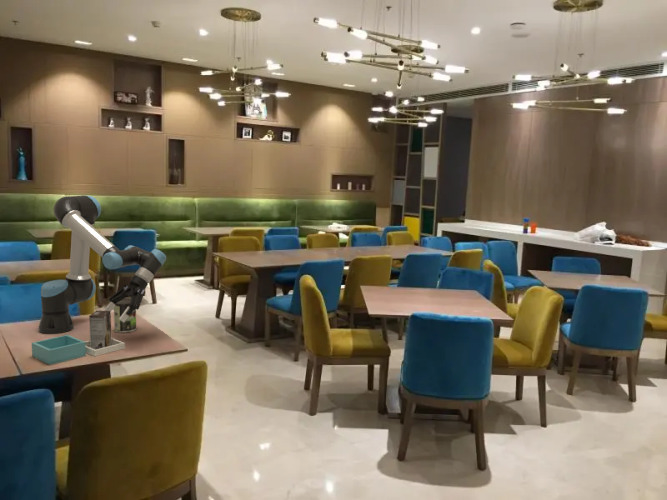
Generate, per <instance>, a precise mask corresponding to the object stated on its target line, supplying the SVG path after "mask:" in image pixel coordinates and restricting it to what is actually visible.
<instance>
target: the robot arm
mask: <svg viewBox="0 0 667 500" xmlns="http://www.w3.org/2000/svg"><path fill="white" fill-rule="evenodd" d="M101 213H102V208H101V203H100V202H99V201H98V199H97V198H95V197H94V196H92V195H85V194H83V195H82V194H81V195H71V196H70V195H68V196H66V195H65V196H63V197H61V198H58V199H57V200H56V202H55V203H54V205H53V214H54V217H55V218H56V220H57V222H58V223H60V225H62V226H63V227H64V228H69V230H70V231H71V237H70V238H71V239H70V241H71V243H70V255H69V256H70V261H69V272H68V273H67V274H66V275H65V279H55V280H50V281H47V282H44V283H43V284H42V285H41V287H40V298H41V318H40V321H39V325H38V332H39V333H41V334H45V335H46V334H52V335H53V334H62V333H67V332H69V331H72V330H73V329H74V328H75V327H74V326H75V325H74V321H73V319H72V317H71V314H70V308H69V307H70V306H71V305H75V304H79V303H84V302H86V301H89V300H90V299H91V298H93V297H94V296H95V294H96V290H97V287H96V286H97V285H96V283H95V281H94V280H93V279H92V276H91V274H90V273H89V269H90V267H89V265H90V251H91V250H90V248H91V249H92V250H93V251H94V252H95V253H96V254H98V256H100V257H101V258H102V264H103V266H104V267H105V268H106V269H108V270H116V269H121V268H124V267H129V266H135V265H137V266H139V268H138V270H136V272H135V273H134V275H133V276H132V277H131V278H130V280H129V285H126V284H123V285H122V287H121V288H120V289H119V290H116V292H115V293H114V294H112V295H111V296H109V298H108V300H109V302H108V305H107V306H106V307H105V309H104V310H103V311H110V313H111V312H112V311H113V310H114V307H115V305H116V303H118V302H119V301H121V300H124V299H126V298H130V299H131V301H130V305H129V307H127V309H126V310H125V312H124V313H123V314H122V316H121V317H120V318H119V319H120V320H121V321H122V322H125V321H126V319H127V318H128V317H129V316H130V314H131V313H132V312H133V310H135V309H136V311H138V310H139V309H140V307H141V303H142V302H143V301H142V300H143V297H144V295H145V293H146V291H145V289H146V288H147V286H148V285H149V283H151V281H152V280H153V278H154V277H155V275H156V274H157V273H158V272H159V270H160V269H161V267H163V265H164V264H165V262H166V261H167V256H166V254H165V253H164V252H162V251H161V250H160V249H158V248H157V249H156V248H154V249H152V250H151V251H147V250H146V249H145V250H144V249H143V248H140V247H138V246H134V245H130V244H129V245H128V246H126V247H125V248H124V249H122V250H120V249H119V248H118V247H117V246H116V245H114V243H112V242H110V240H108V238H106V237H105V236H104V235H103V234H102V233H100V231H98V229H96V228H95V227H94V226H95V223H96V219H97V218H99V216H100V215H101Z"/></svg>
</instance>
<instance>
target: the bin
mask: <svg viewBox="0 0 667 500" xmlns="http://www.w3.org/2000/svg"><path fill="white" fill-rule="evenodd" d="M85 342H86V341H84V340H81V339H79V338H77V337H75V336H72V335H70V334H65V335H60V336H55V337H51V338H46V339H42V340H38V341H33V342H31V354H32V356H33V357H32V358H34V357H35V359H36V358H37V360H38V359H39V361H40V362H42V363H45V364H47V365H49V366H50V365H51V366H52V365H54V364H55V365H56V364H59V363H63V362H67V361H70V360H74V359H77V358H82V357H86V355H87V353H86V348H85Z"/></svg>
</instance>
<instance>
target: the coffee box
mask: <svg viewBox="0 0 667 500" xmlns="http://www.w3.org/2000/svg"><path fill="white" fill-rule="evenodd" d="M88 317H89V341H90V344H91V347H90V348H92V349H95V350H96V349H100V348H104V347H108V346H112V339H111V338H112V318H111V317H112V316H111V312H110V311H104V310H95V311H94V312H93V313H91V314H90V315H89V316H88Z"/></svg>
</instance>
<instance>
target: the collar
mask: <svg viewBox="0 0 667 500" xmlns="http://www.w3.org/2000/svg"><path fill="white" fill-rule="evenodd" d="M111 339H112V346H108V347H104V348H100V349H96V350H95V349H92V348H91V344H90V340H86V341H84V342H85V348H86V354H89V355H90V356H93V357H97V356H101V355H105V354H110V353H113V352H116V351H120V350H123V349H126V343H125V342H123V341H121V340H118V339H116V338H113V337H111Z"/></svg>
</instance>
